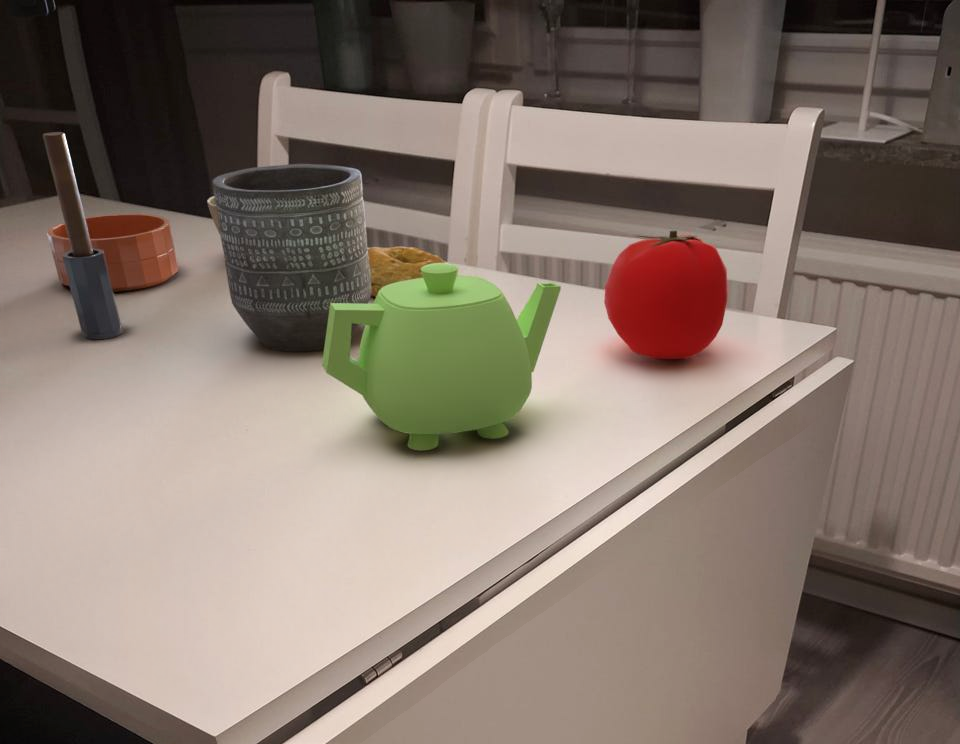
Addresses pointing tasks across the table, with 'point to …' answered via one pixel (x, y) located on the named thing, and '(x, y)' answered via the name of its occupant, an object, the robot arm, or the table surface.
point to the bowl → (124, 248)
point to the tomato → (667, 296)
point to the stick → (68, 193)
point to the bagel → (397, 265)
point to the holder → (93, 295)
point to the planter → (293, 249)
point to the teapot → (441, 353)
